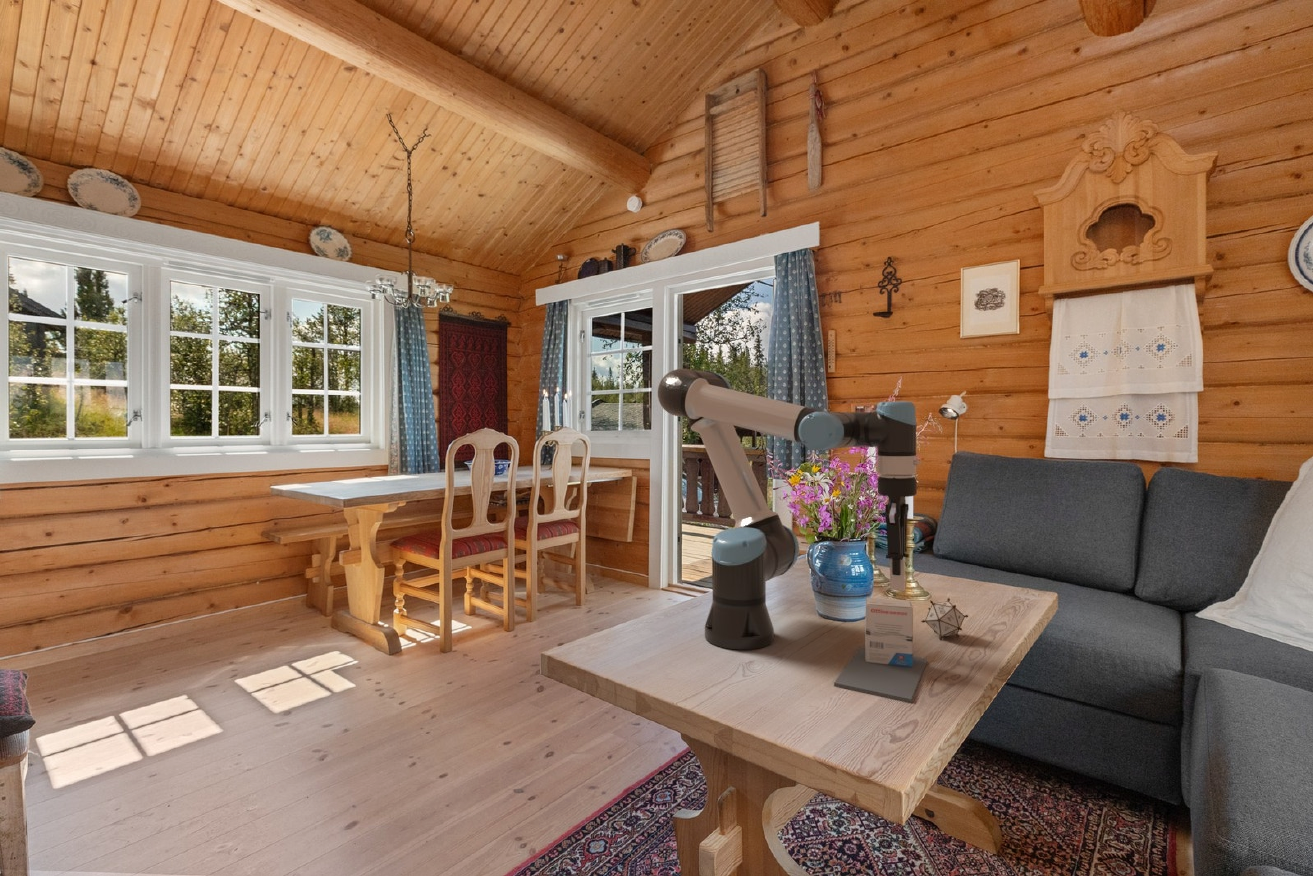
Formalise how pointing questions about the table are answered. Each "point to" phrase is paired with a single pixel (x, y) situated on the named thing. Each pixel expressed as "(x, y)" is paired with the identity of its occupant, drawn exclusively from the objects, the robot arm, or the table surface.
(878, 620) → the ink box
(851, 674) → the mat
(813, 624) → the table surface
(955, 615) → the game die
